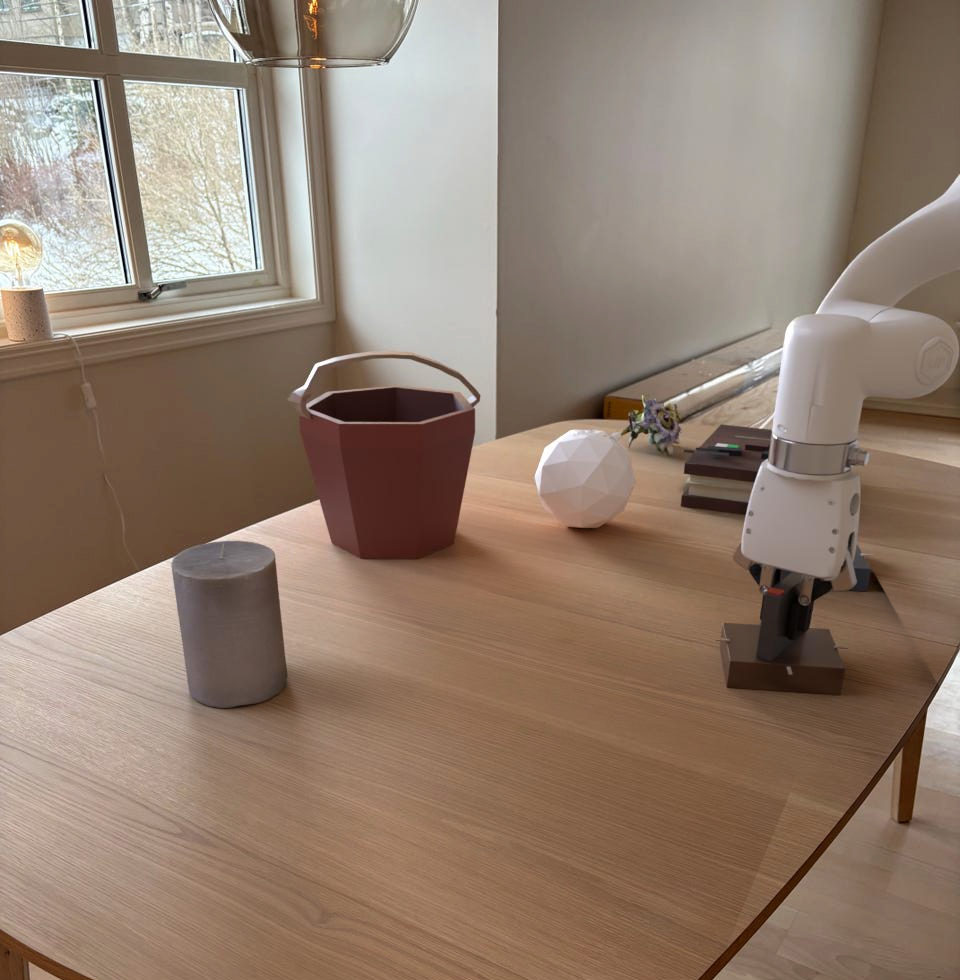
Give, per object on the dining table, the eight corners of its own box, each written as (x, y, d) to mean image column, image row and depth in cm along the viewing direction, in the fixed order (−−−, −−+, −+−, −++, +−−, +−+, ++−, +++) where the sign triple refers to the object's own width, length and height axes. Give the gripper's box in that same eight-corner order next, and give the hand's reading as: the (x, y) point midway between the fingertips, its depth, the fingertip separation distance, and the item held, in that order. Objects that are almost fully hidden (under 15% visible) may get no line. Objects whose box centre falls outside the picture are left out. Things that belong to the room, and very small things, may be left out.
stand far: (857, 558, 130) (861, 536, 128) (880, 599, 118) (884, 574, 117) (755, 553, 131) (758, 531, 130) (767, 592, 120) (770, 568, 118)
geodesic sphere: (627, 462, 149) (579, 391, 141) (677, 489, 137) (628, 413, 129) (553, 529, 149) (501, 462, 141) (598, 562, 137) (543, 490, 129)
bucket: (290, 566, 127) (272, 369, 116) (317, 510, 147) (304, 337, 136) (479, 566, 127) (479, 369, 116) (481, 511, 147) (481, 338, 136)
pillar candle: (232, 655, 105) (216, 521, 98) (307, 675, 100) (295, 537, 94) (167, 695, 97) (144, 552, 90) (245, 719, 93) (227, 571, 86)
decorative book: (834, 427, 162) (809, 476, 137) (827, 472, 165) (801, 527, 140) (717, 415, 169) (673, 460, 144) (712, 458, 172) (668, 509, 148)
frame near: (791, 626, 104) (801, 563, 101) (805, 630, 103) (816, 566, 100) (755, 657, 98) (765, 590, 94) (770, 662, 97) (781, 594, 94)
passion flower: (665, 483, 177) (669, 440, 166) (609, 465, 180) (609, 422, 170) (688, 437, 181) (693, 393, 171) (633, 420, 184) (635, 375, 174)
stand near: (831, 645, 107) (836, 619, 105) (856, 706, 95) (861, 677, 94) (708, 638, 108) (711, 612, 107) (717, 697, 97) (720, 668, 95)
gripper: (910, 460, 90) (874, 640, 98) (747, 432, 99) (726, 600, 107) (883, 479, 85) (848, 668, 93) (714, 448, 93) (695, 623, 102)
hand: (783, 630), depth 100 cm, fingers closed
